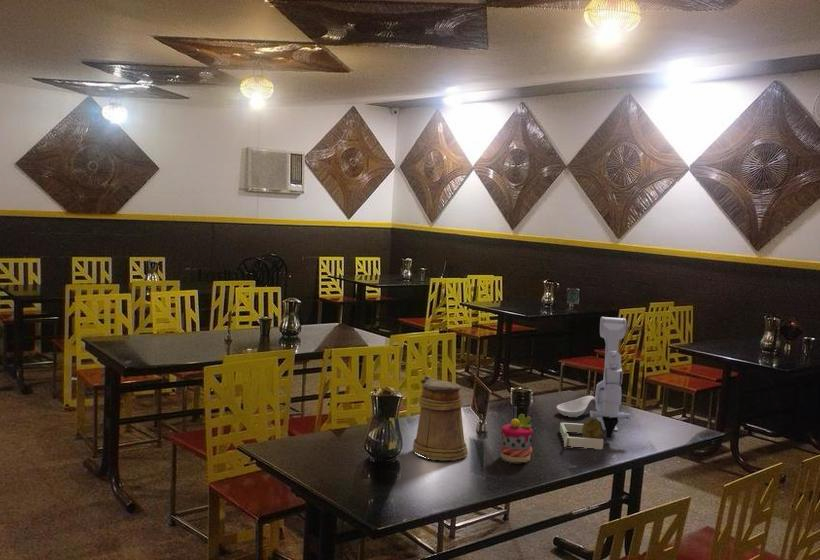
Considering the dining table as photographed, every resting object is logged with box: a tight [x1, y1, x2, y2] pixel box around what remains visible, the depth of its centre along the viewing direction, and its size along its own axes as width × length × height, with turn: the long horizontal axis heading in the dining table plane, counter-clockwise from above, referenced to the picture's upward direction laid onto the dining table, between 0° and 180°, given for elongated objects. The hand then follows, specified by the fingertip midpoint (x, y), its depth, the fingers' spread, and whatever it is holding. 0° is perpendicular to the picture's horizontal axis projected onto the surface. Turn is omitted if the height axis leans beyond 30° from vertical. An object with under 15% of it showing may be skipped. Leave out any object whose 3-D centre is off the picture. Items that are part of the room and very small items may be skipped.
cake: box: [499, 413, 533, 462], centre depth 252 cm, size 10×11×15 cm
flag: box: [563, 430, 567, 448], centre depth 266 cm, size 3×1×7 cm, turn 175°
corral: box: [559, 422, 604, 450], centre depth 278 cm, size 19×13×4 cm
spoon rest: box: [556, 395, 598, 418], centre depth 315 cm, size 24×12×7 cm, turn 124°
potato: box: [581, 418, 604, 439], centre depth 275 cm, size 8×13×8 cm, turn 150°
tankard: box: [412, 374, 469, 461], centre depth 256 cm, size 18×24×25 cm
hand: (608, 436), depth 277 cm, fingers closed
